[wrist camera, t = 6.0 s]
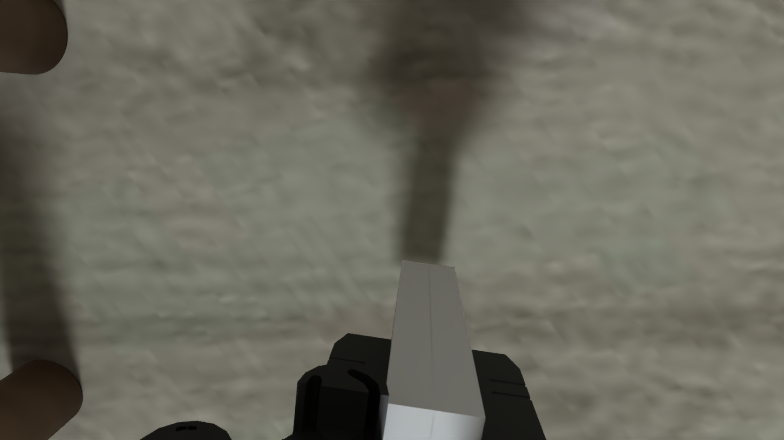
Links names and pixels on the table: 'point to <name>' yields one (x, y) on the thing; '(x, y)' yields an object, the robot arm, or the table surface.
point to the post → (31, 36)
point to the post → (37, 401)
